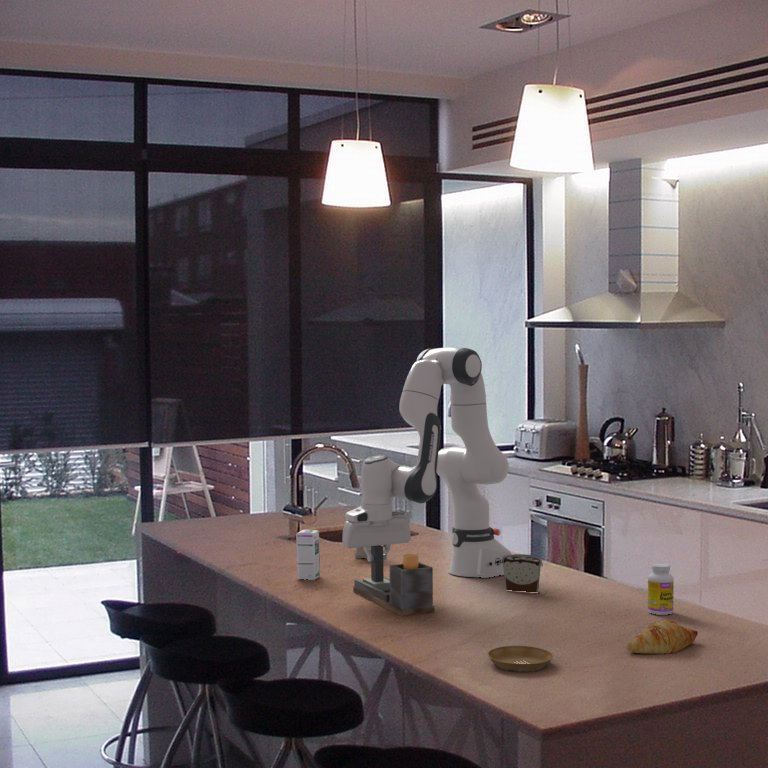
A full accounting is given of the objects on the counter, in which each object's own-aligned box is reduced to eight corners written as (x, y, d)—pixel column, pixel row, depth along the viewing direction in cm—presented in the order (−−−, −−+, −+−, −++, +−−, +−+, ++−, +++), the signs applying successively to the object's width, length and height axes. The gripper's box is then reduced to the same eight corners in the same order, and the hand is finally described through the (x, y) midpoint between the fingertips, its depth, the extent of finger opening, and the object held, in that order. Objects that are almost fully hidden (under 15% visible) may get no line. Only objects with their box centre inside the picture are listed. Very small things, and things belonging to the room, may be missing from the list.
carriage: (380, 584, 339) (380, 542, 338) (392, 589, 331) (391, 547, 331) (362, 586, 336) (362, 544, 336) (374, 591, 329) (373, 549, 329)
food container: (548, 589, 337) (548, 555, 337) (542, 594, 332) (542, 559, 331) (508, 586, 343) (507, 552, 342) (501, 590, 337) (500, 556, 336)
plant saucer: (547, 655, 271) (547, 644, 271) (558, 674, 256) (558, 663, 256) (483, 656, 270) (483, 645, 270) (491, 675, 256) (491, 664, 256)
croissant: (636, 672, 268) (647, 646, 264) (610, 643, 276) (620, 617, 272) (703, 657, 279) (715, 631, 275) (676, 629, 286) (687, 604, 282)
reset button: (414, 575, 316) (414, 553, 316) (421, 578, 313) (420, 556, 312) (401, 576, 315) (400, 554, 314) (407, 579, 311) (407, 557, 311)
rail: (384, 588, 342) (384, 547, 341) (434, 611, 313) (434, 567, 312) (353, 591, 337) (352, 550, 337) (400, 615, 308) (400, 571, 308)
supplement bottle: (659, 617, 305) (659, 568, 304) (642, 611, 311) (642, 563, 310) (678, 614, 308) (679, 565, 307) (661, 608, 314) (662, 561, 313)
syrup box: (315, 580, 353) (314, 532, 352) (296, 579, 354) (296, 532, 353) (320, 576, 358) (319, 529, 358) (301, 575, 360) (301, 529, 359)
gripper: (404, 508, 340) (405, 555, 341) (339, 513, 332) (340, 562, 332) (414, 511, 334) (414, 559, 335) (348, 517, 326) (349, 566, 327)
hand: (377, 560), depth 334 cm, fingers closed on carriage, 2 cm apart
